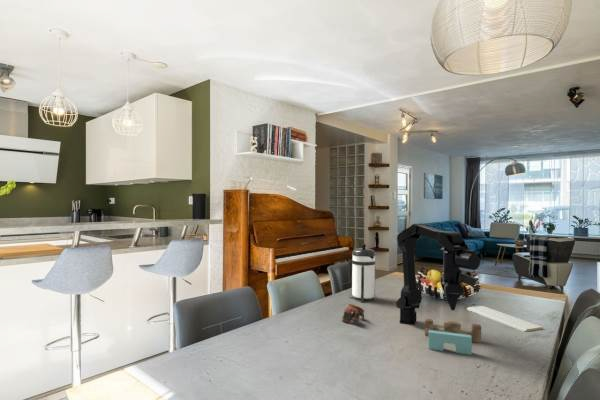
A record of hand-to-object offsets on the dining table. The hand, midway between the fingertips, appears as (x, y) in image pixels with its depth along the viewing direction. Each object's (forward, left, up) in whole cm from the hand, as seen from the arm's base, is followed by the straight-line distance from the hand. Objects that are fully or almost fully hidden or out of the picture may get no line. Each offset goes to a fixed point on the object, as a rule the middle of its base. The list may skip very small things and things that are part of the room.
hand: (451, 306), depth 131 cm
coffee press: (-41, +48, -14) cm, 65 cm away
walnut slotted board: (+1, +5, -14) cm, 15 cm away
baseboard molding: (+24, +38, -14) cm, 47 cm away
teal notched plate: (-1, -8, -14) cm, 16 cm away
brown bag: (-39, +10, -14) cm, 42 cm away
